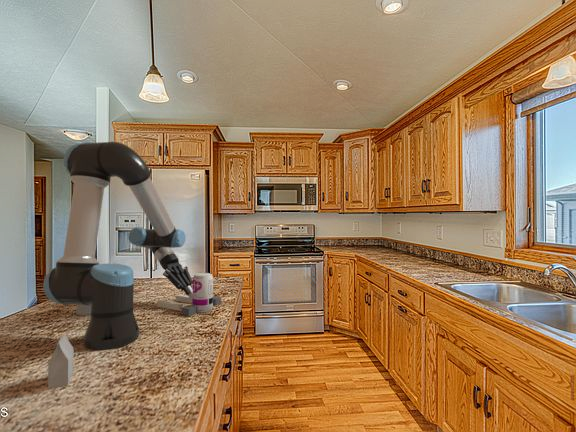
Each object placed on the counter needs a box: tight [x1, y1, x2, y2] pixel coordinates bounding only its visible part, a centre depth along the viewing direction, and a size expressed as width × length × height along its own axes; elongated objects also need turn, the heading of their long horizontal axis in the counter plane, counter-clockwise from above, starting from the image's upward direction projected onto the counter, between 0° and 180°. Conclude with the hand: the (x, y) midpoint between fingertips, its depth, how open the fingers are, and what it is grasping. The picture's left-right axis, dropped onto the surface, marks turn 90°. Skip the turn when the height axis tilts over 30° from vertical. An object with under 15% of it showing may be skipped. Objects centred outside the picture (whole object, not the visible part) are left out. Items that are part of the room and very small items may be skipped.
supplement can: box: [191, 272, 214, 314], centre depth 128 cm, size 8×8×15 cm
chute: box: [156, 294, 222, 317], centre depth 134 cm, size 20×22×3 cm
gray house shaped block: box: [47, 333, 75, 391], centre depth 73 cm, size 4×7×10 cm, turn 26°
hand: (195, 299), depth 132 cm, fingers closed
